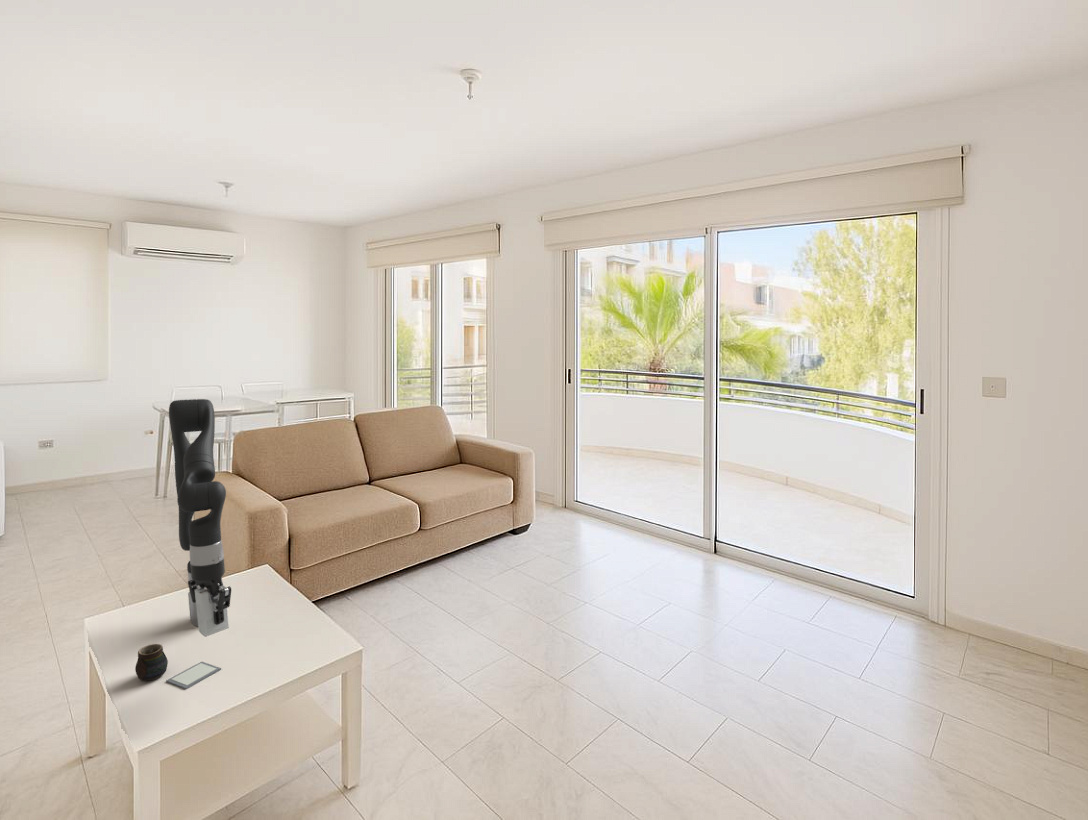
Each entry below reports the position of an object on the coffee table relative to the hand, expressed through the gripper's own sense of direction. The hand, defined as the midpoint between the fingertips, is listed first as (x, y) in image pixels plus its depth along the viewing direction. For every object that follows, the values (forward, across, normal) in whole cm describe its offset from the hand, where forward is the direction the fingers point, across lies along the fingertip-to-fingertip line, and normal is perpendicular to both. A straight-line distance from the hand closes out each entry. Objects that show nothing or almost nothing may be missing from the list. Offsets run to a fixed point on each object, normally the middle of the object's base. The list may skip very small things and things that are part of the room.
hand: (212, 620), depth 155 cm
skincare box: (+3, 0, 0) cm, 3 cm away
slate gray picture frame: (+17, -8, -1) cm, 19 cm away
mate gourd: (+18, -18, -6) cm, 26 cm away
